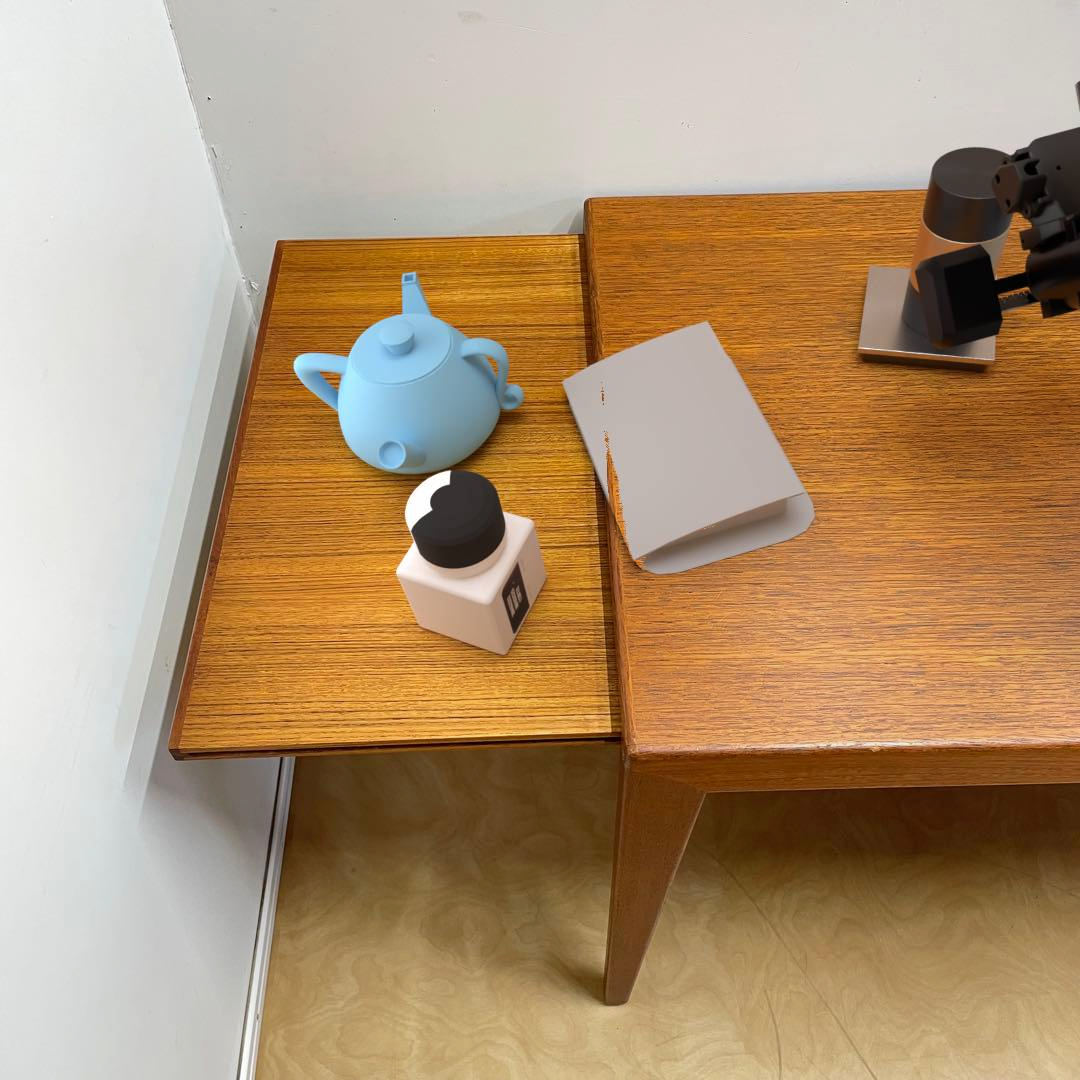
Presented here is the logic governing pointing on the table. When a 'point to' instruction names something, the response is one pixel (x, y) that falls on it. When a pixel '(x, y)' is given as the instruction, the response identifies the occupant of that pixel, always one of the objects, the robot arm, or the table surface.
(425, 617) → the container
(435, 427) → the teapot
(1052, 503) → the table surface
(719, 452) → the book
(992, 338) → the platform
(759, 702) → the table surface
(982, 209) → the can
